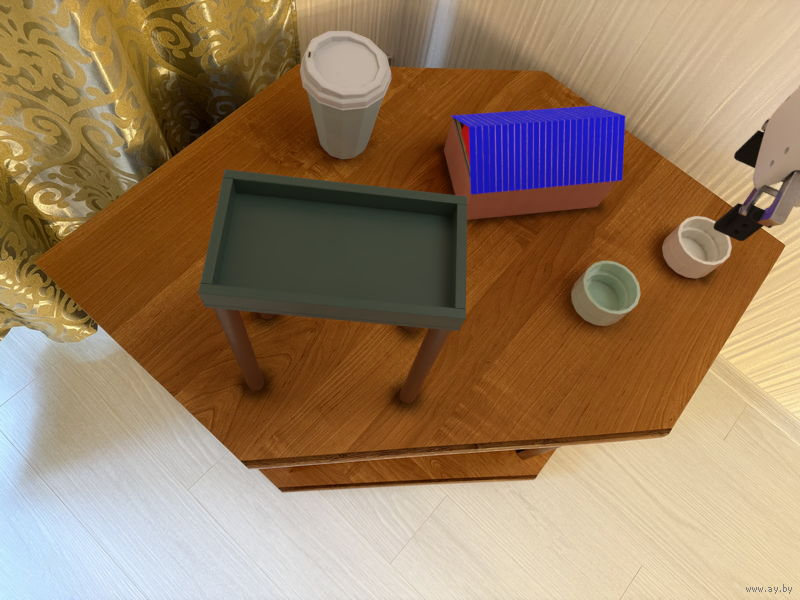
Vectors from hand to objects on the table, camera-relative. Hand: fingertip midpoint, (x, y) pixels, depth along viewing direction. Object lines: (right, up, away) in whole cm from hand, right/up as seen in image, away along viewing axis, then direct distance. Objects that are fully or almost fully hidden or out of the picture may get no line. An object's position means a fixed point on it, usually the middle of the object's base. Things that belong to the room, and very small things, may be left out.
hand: (737, 196), depth 61 cm
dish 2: (+4, -5, +19) cm, 20 cm away
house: (-18, +6, +21) cm, 28 cm away
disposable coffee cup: (-42, +11, +20) cm, 48 cm away
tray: (-42, -17, +8) cm, 46 cm away
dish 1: (-10, -11, +14) cm, 20 cm away
